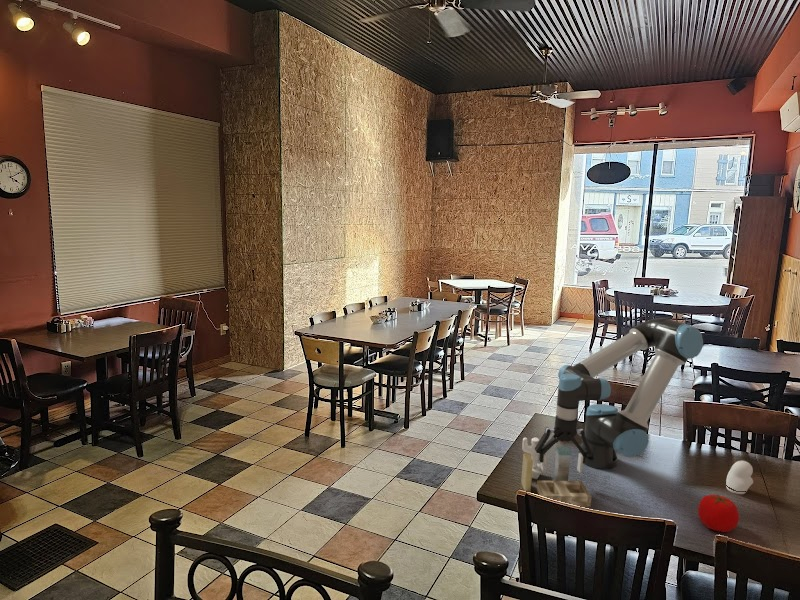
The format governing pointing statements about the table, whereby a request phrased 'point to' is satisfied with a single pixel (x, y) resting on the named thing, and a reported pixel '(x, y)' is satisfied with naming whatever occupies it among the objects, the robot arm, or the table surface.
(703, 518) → the tomato
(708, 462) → the table surface
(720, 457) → the table surface
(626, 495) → the table surface
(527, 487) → the pale yellow rectangular block
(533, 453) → the figurine
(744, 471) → the figurine
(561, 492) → the socket block
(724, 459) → the table surface
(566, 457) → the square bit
